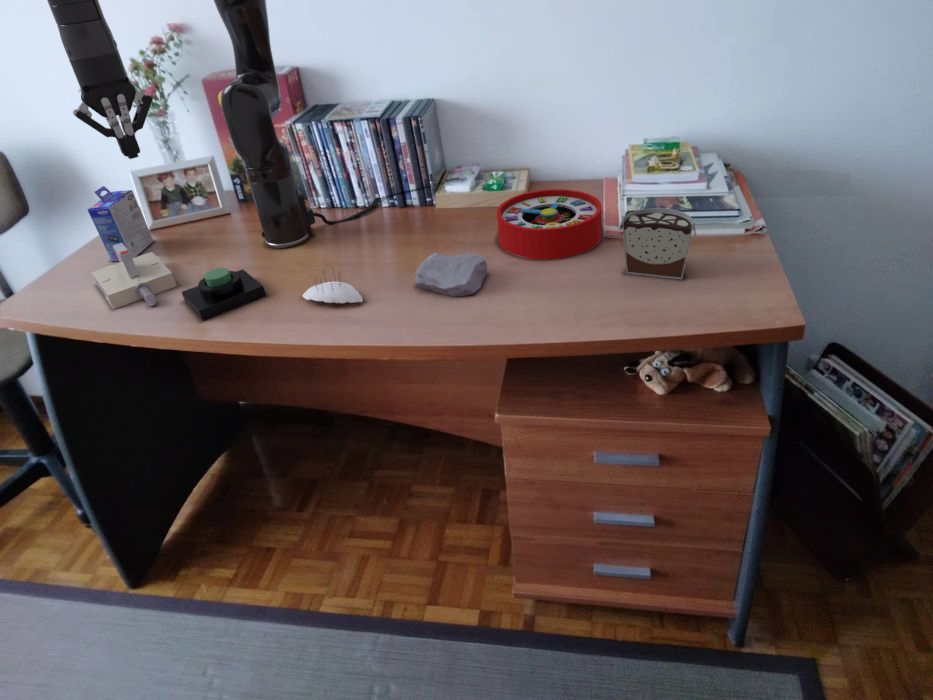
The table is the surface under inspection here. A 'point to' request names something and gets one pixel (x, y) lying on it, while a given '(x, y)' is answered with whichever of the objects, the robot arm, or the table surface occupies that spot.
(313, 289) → the pincushion
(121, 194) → the ink cartridge box
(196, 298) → the button housing
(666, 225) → the food container
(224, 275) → the push button
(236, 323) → the table surface
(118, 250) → the pale grey rectangular block
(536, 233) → the toy clock
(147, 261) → the block
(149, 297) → the spout
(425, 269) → the stone block
